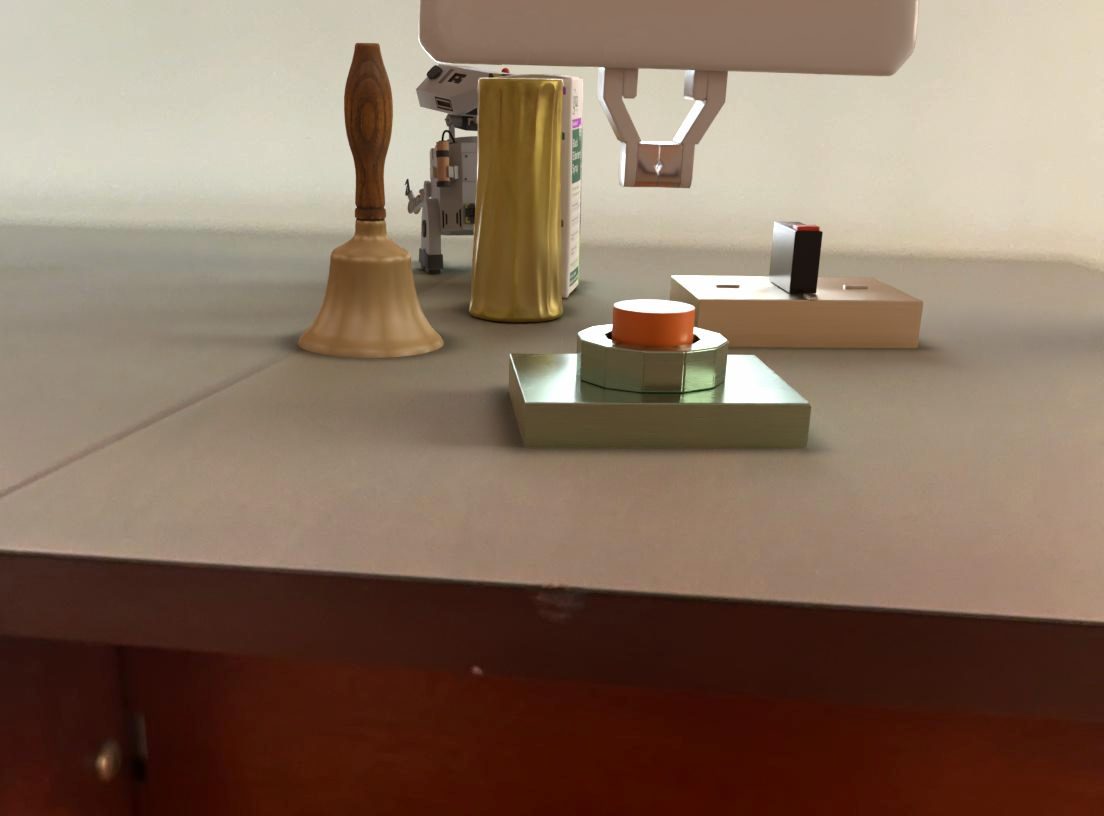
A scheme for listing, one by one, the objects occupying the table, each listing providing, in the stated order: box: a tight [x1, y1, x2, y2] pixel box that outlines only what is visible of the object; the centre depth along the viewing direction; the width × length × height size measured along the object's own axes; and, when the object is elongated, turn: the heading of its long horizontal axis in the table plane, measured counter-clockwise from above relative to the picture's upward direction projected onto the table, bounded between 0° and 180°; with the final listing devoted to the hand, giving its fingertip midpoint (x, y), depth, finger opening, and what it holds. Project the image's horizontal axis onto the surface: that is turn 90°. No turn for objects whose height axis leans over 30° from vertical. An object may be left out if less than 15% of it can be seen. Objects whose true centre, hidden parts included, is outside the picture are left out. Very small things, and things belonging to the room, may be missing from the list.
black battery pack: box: [768, 221, 824, 293], centre depth 78 cm, size 5×2×4 cm, turn 3°
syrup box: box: [493, 73, 584, 299], centre depth 92 cm, size 6×6×14 cm
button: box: [611, 298, 695, 346], centre depth 58 cm, size 4×4×2 cm
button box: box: [508, 323, 812, 449], centre depth 59 cm, size 12×10×4 cm
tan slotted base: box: [669, 274, 924, 349], centre depth 80 cm, size 13×9×3 cm
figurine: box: [404, 63, 516, 274], centre depth 103 cm, size 9×12×15 cm
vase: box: [468, 78, 564, 323], centre depth 83 cm, size 6×6×14 cm
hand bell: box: [297, 42, 445, 359], centre depth 72 cm, size 8×8×16 cm
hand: (654, 186), depth 56 cm, fingers closed
